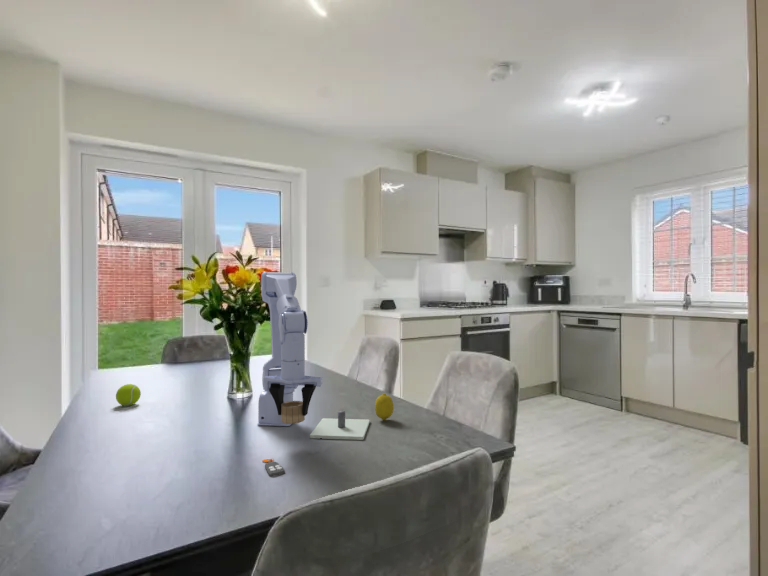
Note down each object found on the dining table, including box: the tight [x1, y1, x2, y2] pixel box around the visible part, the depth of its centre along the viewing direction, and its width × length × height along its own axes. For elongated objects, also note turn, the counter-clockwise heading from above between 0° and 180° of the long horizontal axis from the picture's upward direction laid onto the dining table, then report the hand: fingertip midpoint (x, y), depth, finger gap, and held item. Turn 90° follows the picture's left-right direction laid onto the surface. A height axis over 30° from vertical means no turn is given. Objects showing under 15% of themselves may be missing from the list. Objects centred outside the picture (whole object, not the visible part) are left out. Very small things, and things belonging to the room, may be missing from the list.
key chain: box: [261, 458, 286, 477], centre depth 93 cm, size 13×4×2 cm, turn 31°
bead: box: [281, 400, 306, 425], centre depth 103 cm, size 6×6×4 cm
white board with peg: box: [309, 410, 371, 441], centre depth 115 cm, size 14×14×5 cm
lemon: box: [374, 393, 394, 421], centre depth 123 cm, size 6×6×8 cm
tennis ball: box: [115, 383, 142, 407], centre depth 138 cm, size 7×7×7 cm
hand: (292, 414), depth 103 cm, fingers closed on bead, 6 cm apart
